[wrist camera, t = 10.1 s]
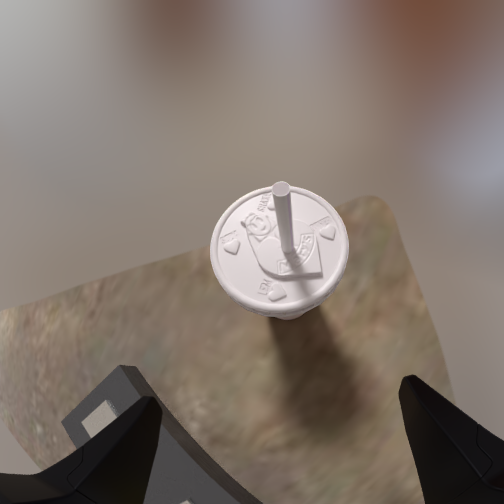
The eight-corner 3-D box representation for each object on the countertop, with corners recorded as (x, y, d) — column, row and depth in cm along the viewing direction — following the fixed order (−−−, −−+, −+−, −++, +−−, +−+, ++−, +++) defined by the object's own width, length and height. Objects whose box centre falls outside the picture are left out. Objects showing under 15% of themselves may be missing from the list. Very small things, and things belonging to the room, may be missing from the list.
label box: (282, 517, 13) (279, 534, 11) (199, 555, 11) (189, 569, 9) (135, 366, 20) (116, 364, 18) (78, 420, 19) (58, 421, 16)
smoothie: (291, 354, 19) (277, 333, 6) (229, 300, 21) (135, 201, 9) (345, 290, 20) (404, 170, 8) (283, 242, 23) (259, 98, 10)
